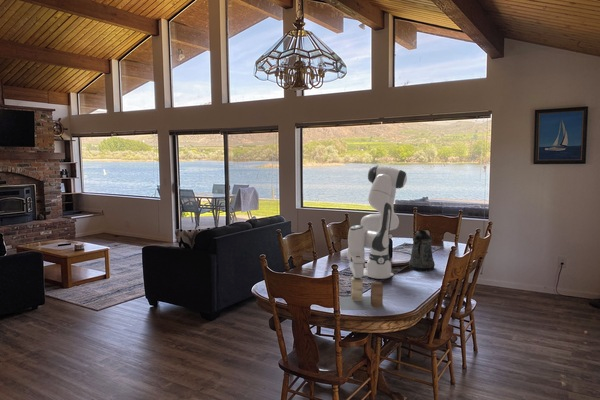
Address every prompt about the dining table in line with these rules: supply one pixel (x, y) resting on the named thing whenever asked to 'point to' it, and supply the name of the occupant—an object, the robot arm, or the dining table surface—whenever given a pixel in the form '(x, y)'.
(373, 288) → the walnut block
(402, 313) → the dining table surface
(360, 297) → the maple block
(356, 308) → the mat
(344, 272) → the dining table surface
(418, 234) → the beer stein
